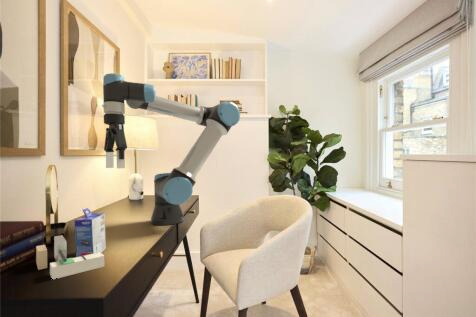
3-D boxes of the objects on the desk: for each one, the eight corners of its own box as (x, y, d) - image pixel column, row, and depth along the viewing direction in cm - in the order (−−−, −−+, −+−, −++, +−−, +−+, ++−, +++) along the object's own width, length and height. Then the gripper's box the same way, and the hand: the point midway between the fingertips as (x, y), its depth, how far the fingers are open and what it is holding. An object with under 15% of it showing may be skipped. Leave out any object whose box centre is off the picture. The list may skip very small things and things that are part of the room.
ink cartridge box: (88, 250, 88) (88, 206, 88) (106, 249, 89) (106, 205, 89) (74, 261, 78) (73, 211, 78) (93, 260, 79) (93, 211, 79)
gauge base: (90, 252, 86) (90, 236, 86) (104, 266, 74) (104, 248, 74) (36, 263, 77) (36, 246, 77) (41, 282, 65) (41, 261, 65)
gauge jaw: (62, 256, 82) (62, 235, 82) (72, 273, 69) (72, 248, 69) (54, 257, 80) (54, 236, 80) (63, 275, 68) (63, 250, 68)
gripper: (95, 117, 112) (96, 168, 112) (114, 108, 93) (115, 168, 93) (114, 119, 117) (115, 167, 117) (135, 110, 98) (136, 168, 98)
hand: (115, 168), depth 105 cm, fingers open, 13 cm apart
